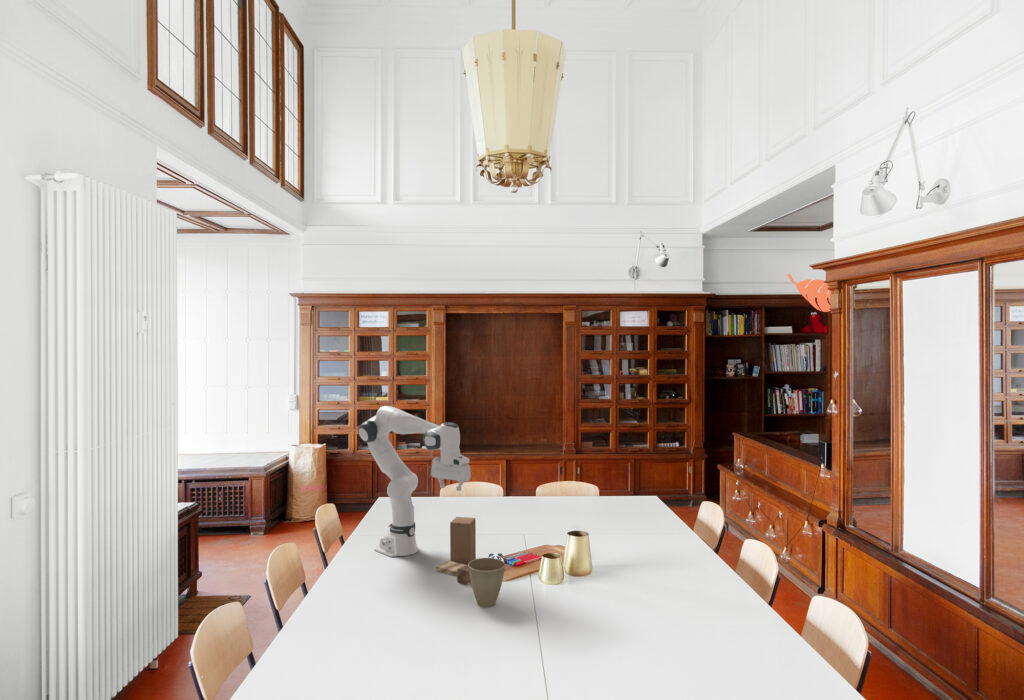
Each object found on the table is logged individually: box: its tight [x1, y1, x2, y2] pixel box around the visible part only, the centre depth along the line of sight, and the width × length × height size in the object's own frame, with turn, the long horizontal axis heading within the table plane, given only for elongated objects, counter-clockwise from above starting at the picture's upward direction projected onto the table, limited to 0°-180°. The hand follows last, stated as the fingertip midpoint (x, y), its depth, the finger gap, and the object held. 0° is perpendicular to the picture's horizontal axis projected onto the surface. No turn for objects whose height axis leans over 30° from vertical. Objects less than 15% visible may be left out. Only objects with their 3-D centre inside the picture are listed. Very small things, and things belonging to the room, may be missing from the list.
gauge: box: [456, 565, 471, 585], centre depth 269 cm, size 5×12×6 cm, turn 147°
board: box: [436, 560, 468, 577], centre depth 276 cm, size 24×9×2 cm, turn 57°
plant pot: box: [468, 557, 506, 608], centre depth 243 cm, size 15×15×16 cm
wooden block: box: [449, 516, 477, 565], centre depth 291 cm, size 10×10×20 cm
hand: (450, 489), depth 273 cm, fingers open, 8 cm apart
